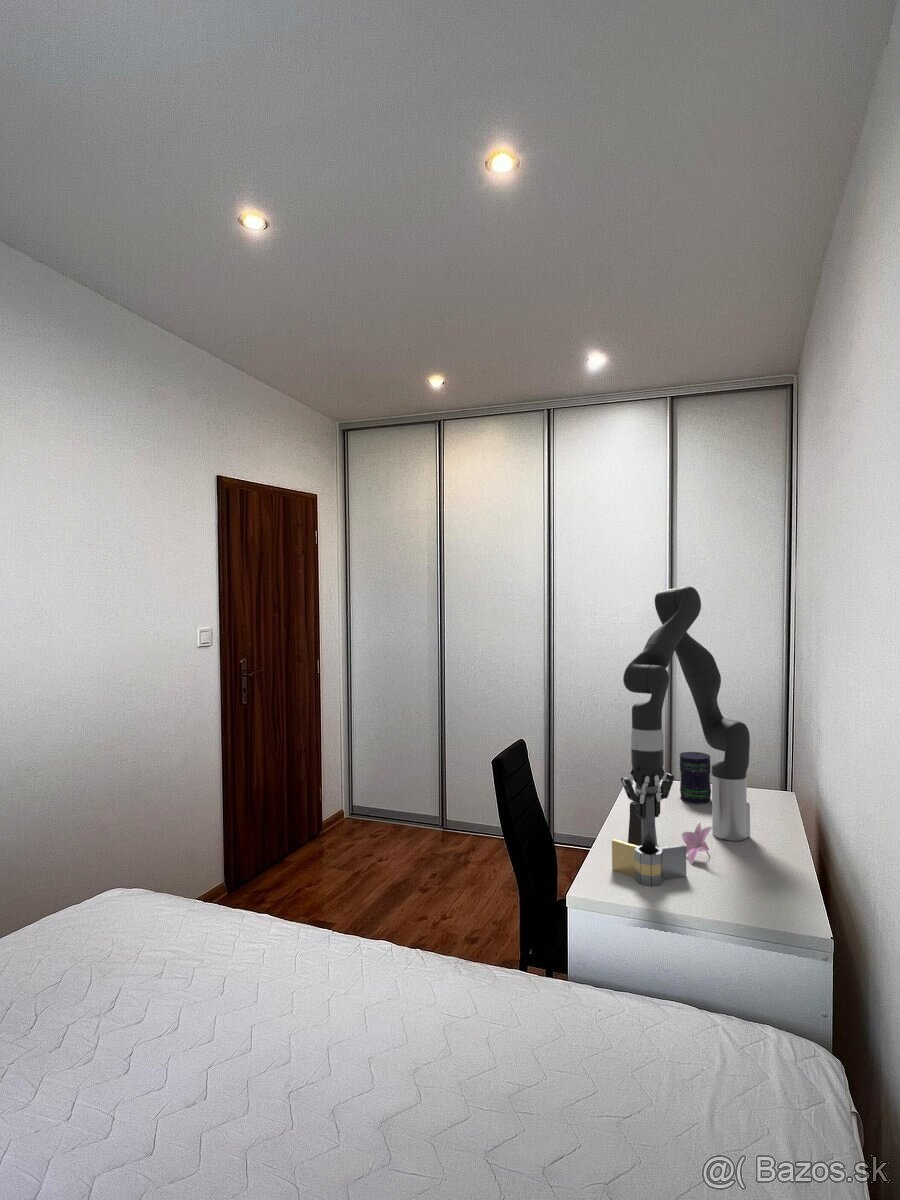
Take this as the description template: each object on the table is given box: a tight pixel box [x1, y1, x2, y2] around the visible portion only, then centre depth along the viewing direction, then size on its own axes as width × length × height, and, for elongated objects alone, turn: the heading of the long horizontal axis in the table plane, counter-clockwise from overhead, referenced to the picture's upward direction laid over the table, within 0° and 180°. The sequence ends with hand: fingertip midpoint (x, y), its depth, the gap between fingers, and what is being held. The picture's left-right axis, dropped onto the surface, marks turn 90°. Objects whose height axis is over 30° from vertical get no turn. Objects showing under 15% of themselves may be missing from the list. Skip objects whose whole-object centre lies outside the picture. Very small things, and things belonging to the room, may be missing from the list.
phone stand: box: [627, 800, 658, 846], centre depth 186 cm, size 9×6×12 cm, turn 150°
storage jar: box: [679, 751, 712, 805], centre depth 227 cm, size 10×10×15 cm
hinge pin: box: [638, 785, 658, 854], centre depth 164 cm, size 5×5×16 cm
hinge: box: [611, 838, 687, 887], centre depth 168 cm, size 15×12×8 cm
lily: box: [681, 822, 712, 865], centre depth 177 cm, size 11×11×9 cm
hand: (648, 816), depth 164 cm, fingers closed on hinge pin, 3 cm apart
